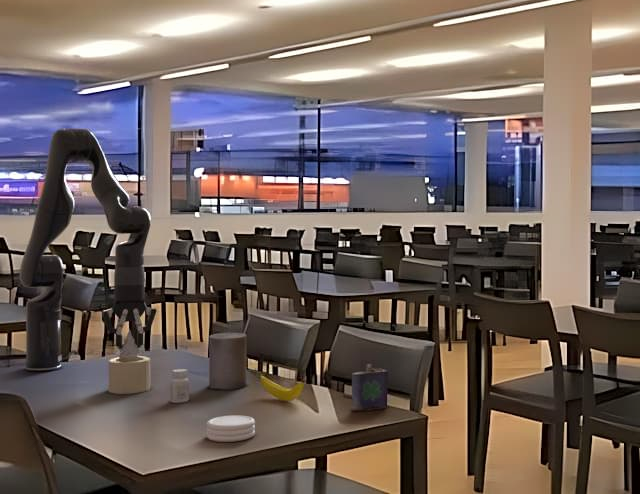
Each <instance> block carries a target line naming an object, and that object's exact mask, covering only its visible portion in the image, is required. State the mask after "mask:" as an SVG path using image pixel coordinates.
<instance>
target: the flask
mask: <svg viewBox="0 0 640 494" xmlns="http://www.w3.org/2000/svg"><path fill="white" fill-rule="evenodd" d="M364 366H366V368H365V371H357V372H353V373H352V374H351V411H353V412H363V411H372V410H377V409H379V410H380V409H387V408H388V392H389V391H388V382H389V378H388V377H389V372H388V370H387V369H383V368H373V367H372V363H367V364H365V365H364Z"/></svg>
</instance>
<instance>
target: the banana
mask: <svg viewBox="0 0 640 494" xmlns="http://www.w3.org/2000/svg"><path fill="white" fill-rule="evenodd" d="M259 378H260V382H261V384H262V385H263V388H264V389H265V391H266V392H268V394H270V395H271V396H273V397H274V398H276V399H278V400H281V401H284V402H292V401H294V400H295V399H297V398H298V397H299V396H301V394H302V392H303V389H304V387H305V385H304V384H305V382H306V380H305V379H302V380H301V382H298V383H297V384H295V385H294V386H293V387H292V388H287V387H284V386H281V385H280V384H278V383H276V382H273V381H272V380H270V379H268V378H267V377H266V376H264V375H259Z"/></svg>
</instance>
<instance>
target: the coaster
mask: <svg viewBox="0 0 640 494" xmlns="http://www.w3.org/2000/svg"><path fill="white" fill-rule="evenodd" d="M255 424H256V420H255V419H254V418H253V417H252V416H247V415H236V414H235V415H234V414H233V415H223V416H217V417H213V418H211V419H209V420H208V421H206V438H207V439H208V440H210V441H212V442H218V443H233V442H234V443H235V442H240V441H246V440H249V439H251V438H253V437H254V436H255V435H256V431H255V428H256V427H255V426H256V425H255Z"/></svg>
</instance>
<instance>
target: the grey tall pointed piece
mask: <svg viewBox="0 0 640 494" xmlns="http://www.w3.org/2000/svg"><path fill="white" fill-rule="evenodd" d="M119 352H120V353H119V356H118V357H120V360H121V362H133V361H137V360H138V357H139V356H140V348H138V346H137V343H136V339H135V338H134V337H133V335H132V332H131V330H130V329H129V330H128V332H127V334H126V337H125V339H124V340H123V343H122V349H119Z"/></svg>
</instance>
